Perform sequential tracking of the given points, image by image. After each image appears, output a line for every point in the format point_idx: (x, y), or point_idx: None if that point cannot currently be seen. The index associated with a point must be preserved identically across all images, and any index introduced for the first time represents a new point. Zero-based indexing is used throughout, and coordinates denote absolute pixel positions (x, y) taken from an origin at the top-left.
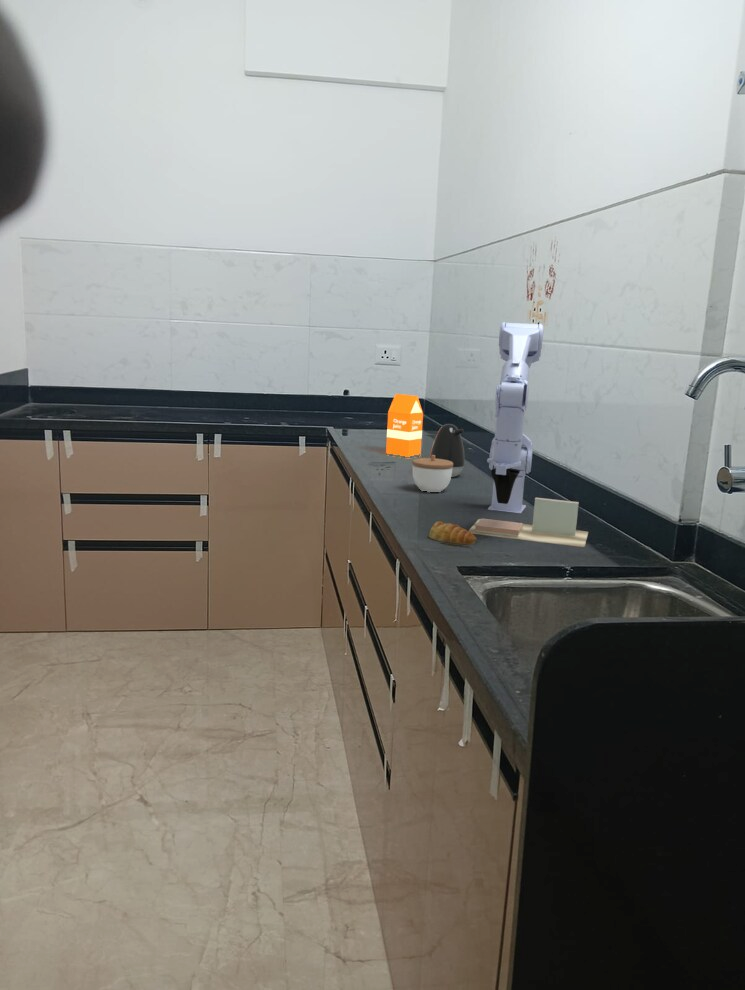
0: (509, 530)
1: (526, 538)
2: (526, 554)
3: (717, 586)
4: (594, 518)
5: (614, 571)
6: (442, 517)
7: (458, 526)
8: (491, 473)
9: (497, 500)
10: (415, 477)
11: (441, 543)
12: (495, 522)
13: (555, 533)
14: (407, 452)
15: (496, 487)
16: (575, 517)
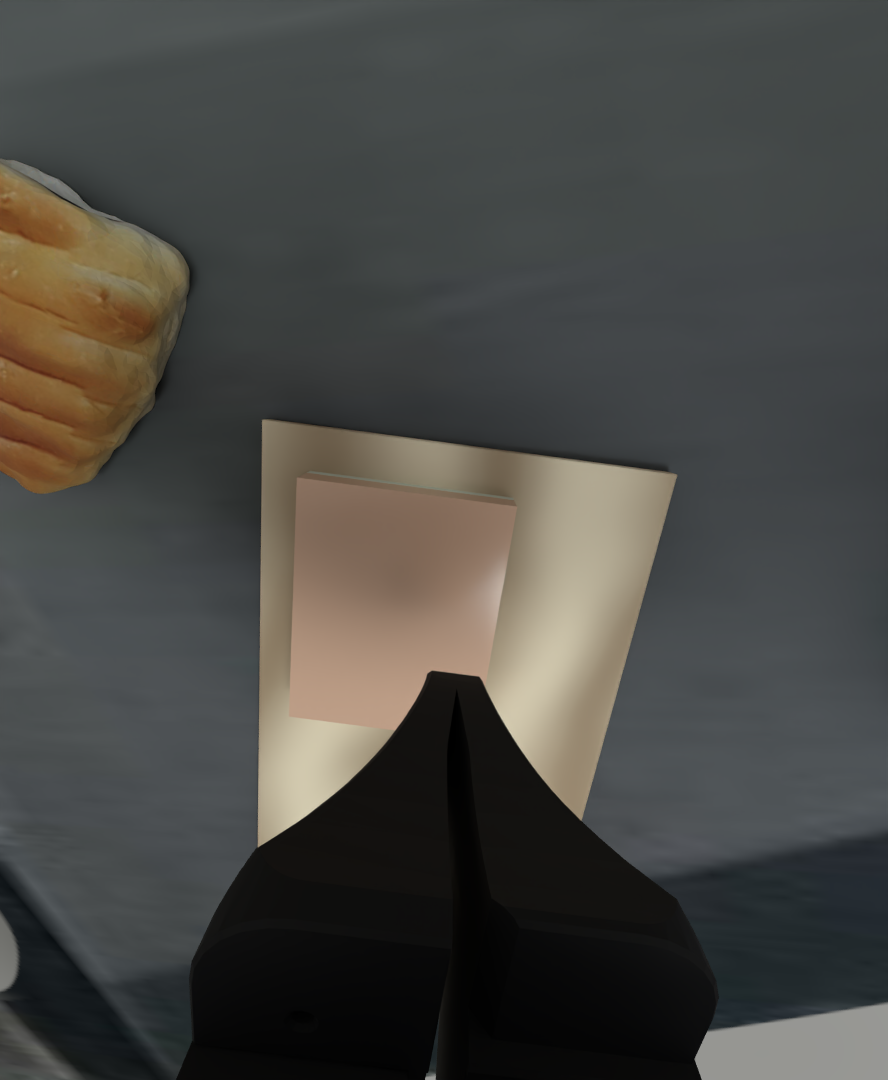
0: (291, 668)
1: (288, 728)
2: (63, 713)
3: None
4: (874, 996)
5: (25, 962)
6: (737, 193)
7: (37, 368)
8: (258, 865)
9: (426, 678)
10: None
11: None
12: (430, 595)
13: None
14: None
15: (380, 753)
16: (439, 1014)
